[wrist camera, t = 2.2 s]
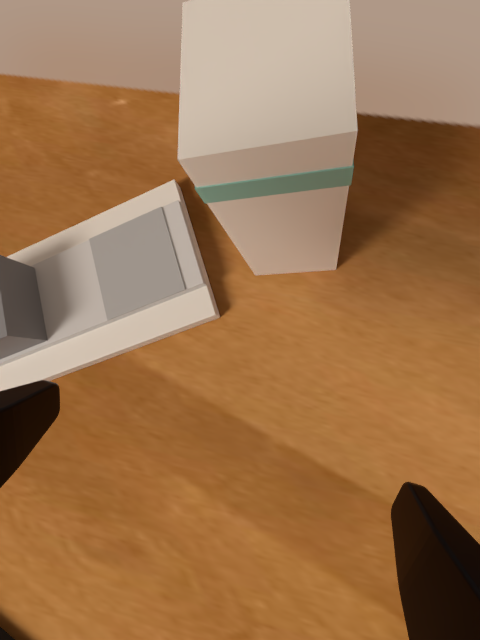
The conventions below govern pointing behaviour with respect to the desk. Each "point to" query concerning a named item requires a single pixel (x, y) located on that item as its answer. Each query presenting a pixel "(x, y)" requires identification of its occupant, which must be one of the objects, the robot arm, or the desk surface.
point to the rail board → (102, 289)
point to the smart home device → (5, 635)
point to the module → (270, 125)
